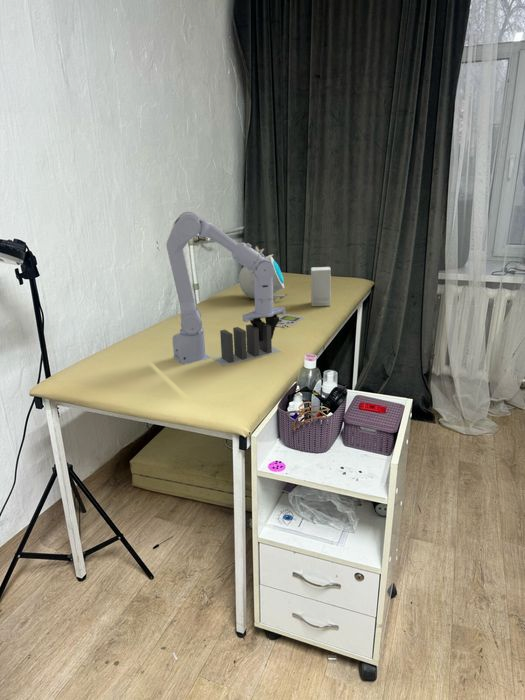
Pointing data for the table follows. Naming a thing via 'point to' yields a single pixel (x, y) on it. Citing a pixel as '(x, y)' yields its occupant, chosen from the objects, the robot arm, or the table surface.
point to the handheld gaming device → (288, 320)
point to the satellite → (249, 279)
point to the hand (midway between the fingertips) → (264, 339)
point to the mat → (249, 356)
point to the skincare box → (320, 286)
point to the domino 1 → (227, 346)
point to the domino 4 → (266, 339)
